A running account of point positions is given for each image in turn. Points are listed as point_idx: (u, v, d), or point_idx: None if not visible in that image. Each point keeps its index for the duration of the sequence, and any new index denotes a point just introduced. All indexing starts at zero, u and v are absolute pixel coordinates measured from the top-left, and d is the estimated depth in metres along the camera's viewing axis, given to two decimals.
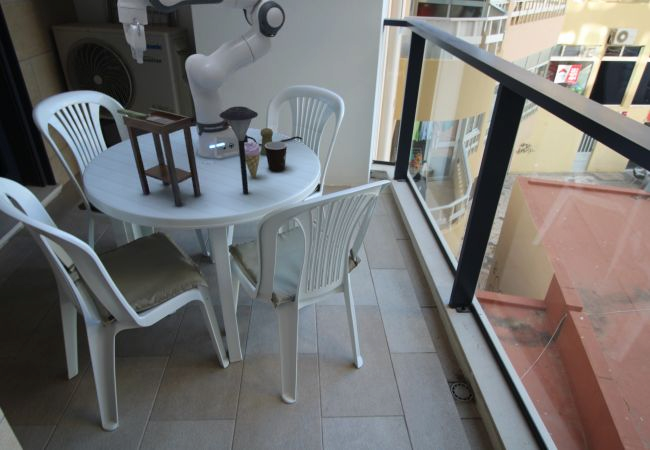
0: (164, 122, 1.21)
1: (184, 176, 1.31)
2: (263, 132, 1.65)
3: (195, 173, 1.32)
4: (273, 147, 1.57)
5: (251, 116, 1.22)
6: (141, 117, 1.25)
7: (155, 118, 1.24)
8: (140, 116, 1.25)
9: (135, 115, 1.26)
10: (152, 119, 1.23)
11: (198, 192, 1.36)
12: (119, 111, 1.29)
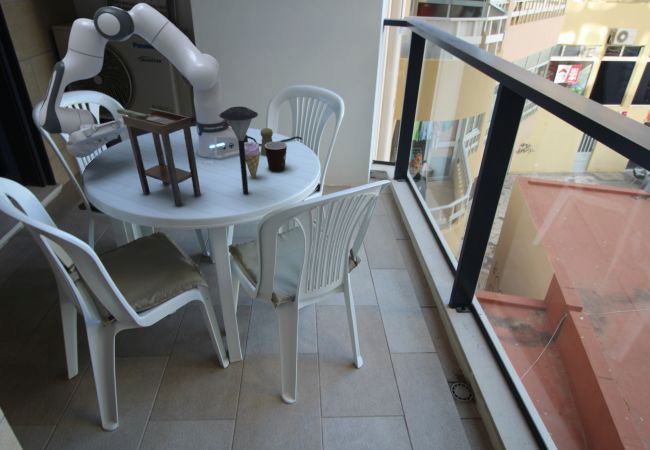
0: (164, 122, 1.21)
1: (184, 176, 1.31)
2: (263, 132, 1.65)
3: (195, 173, 1.32)
4: (273, 147, 1.57)
5: (251, 116, 1.22)
6: (141, 117, 1.25)
7: (155, 118, 1.24)
8: (140, 116, 1.25)
9: (135, 115, 1.26)
10: (152, 119, 1.23)
11: (198, 192, 1.36)
12: (119, 111, 1.29)
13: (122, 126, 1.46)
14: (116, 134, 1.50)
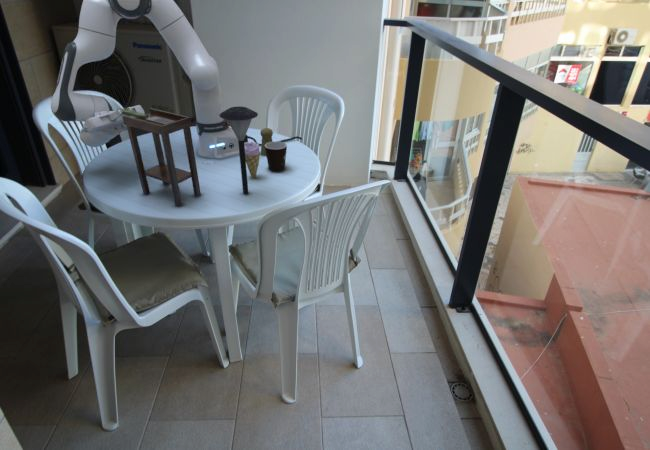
0: (164, 122, 1.21)
1: (184, 176, 1.31)
2: (263, 132, 1.65)
3: (195, 173, 1.32)
4: (273, 147, 1.57)
5: (251, 116, 1.22)
6: (141, 117, 1.25)
7: (155, 118, 1.24)
8: (140, 116, 1.25)
9: (135, 115, 1.26)
10: (152, 119, 1.23)
11: (198, 192, 1.36)
12: None
13: None
14: None
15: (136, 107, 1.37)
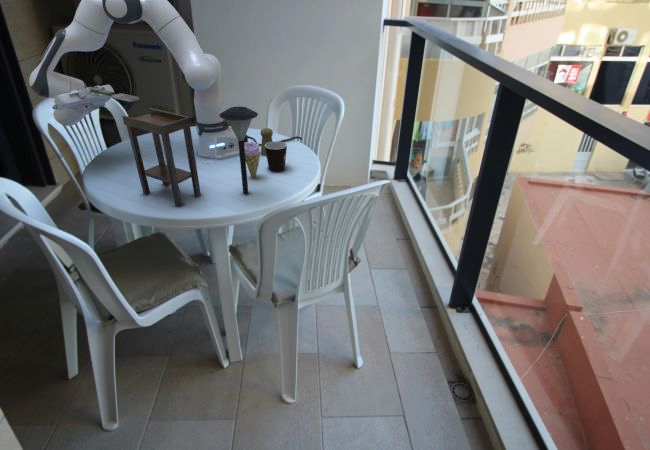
0: (128, 98, 1.28)
1: (184, 176, 1.31)
2: (263, 132, 1.65)
3: (195, 173, 1.32)
4: (273, 147, 1.57)
5: (251, 116, 1.22)
6: (108, 94, 1.33)
7: (120, 95, 1.31)
8: (107, 93, 1.33)
9: (102, 92, 1.34)
10: (117, 95, 1.30)
11: (198, 192, 1.36)
12: None
13: None
14: (103, 101, 1.49)
15: (106, 86, 1.45)
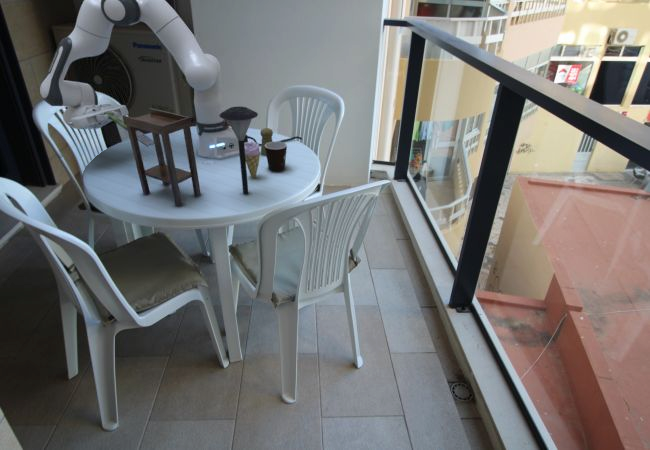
0: (146, 142, 1.40)
1: (184, 176, 1.31)
2: (263, 132, 1.65)
3: (195, 173, 1.32)
4: (273, 147, 1.57)
5: (251, 116, 1.22)
6: (125, 128, 1.42)
7: (138, 134, 1.41)
8: (125, 127, 1.42)
9: (120, 124, 1.43)
10: None
11: (198, 192, 1.36)
12: None
13: (124, 114, 1.53)
14: None
15: (121, 108, 1.52)
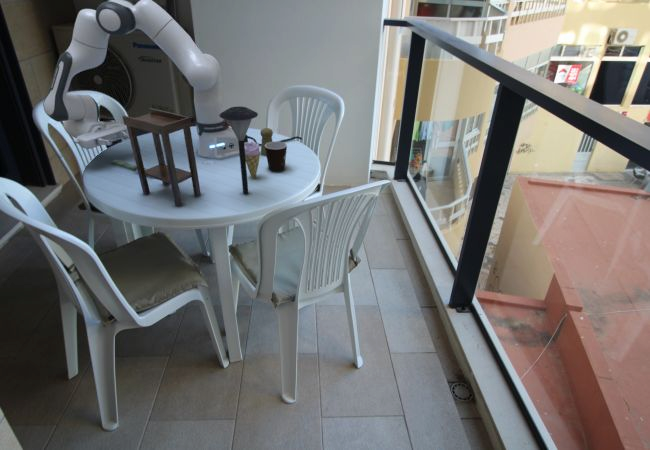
0: None
1: (184, 176, 1.31)
2: (263, 132, 1.65)
3: (195, 173, 1.32)
4: (273, 147, 1.57)
5: (251, 116, 1.22)
6: (132, 169, 1.53)
7: None
8: (131, 168, 1.53)
9: (127, 167, 1.54)
10: None
11: (198, 192, 1.36)
12: (114, 162, 1.57)
13: (128, 135, 1.58)
14: None
15: None
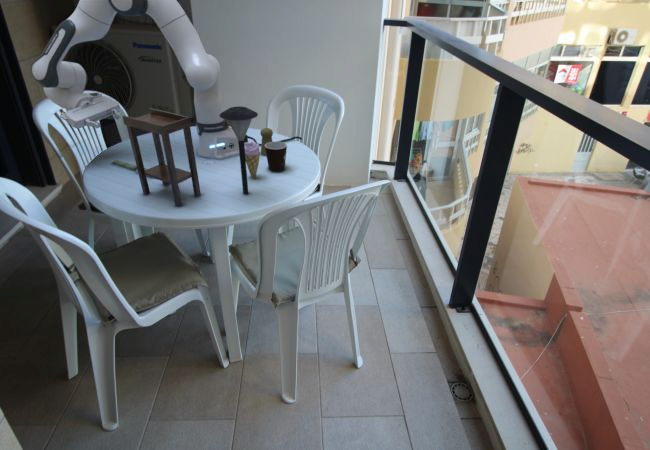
0: None
1: (184, 176, 1.31)
2: (263, 132, 1.65)
3: (195, 173, 1.32)
4: (273, 147, 1.57)
5: (251, 116, 1.22)
6: (132, 169, 1.53)
7: None
8: (131, 168, 1.53)
9: (127, 167, 1.54)
10: None
11: (198, 192, 1.36)
12: (114, 162, 1.57)
13: None
14: None
15: (115, 107, 1.56)
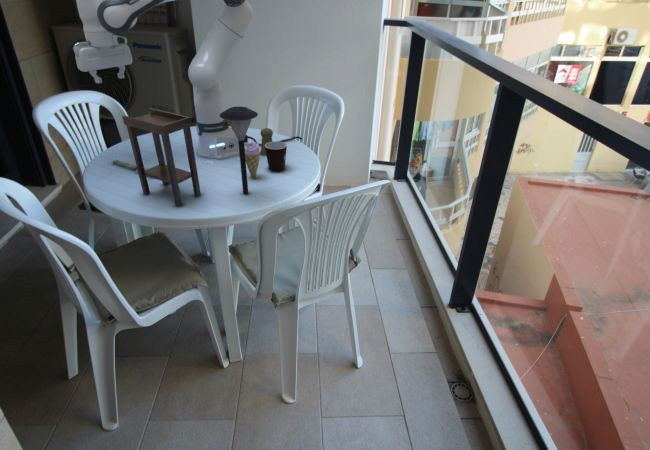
0: None
1: (184, 176, 1.31)
2: (263, 132, 1.65)
3: (195, 173, 1.32)
4: (273, 147, 1.57)
5: (251, 116, 1.22)
6: (132, 169, 1.53)
7: None
8: (131, 168, 1.53)
9: (127, 167, 1.54)
10: None
11: (198, 192, 1.36)
12: (114, 162, 1.57)
13: None
14: None
15: (126, 64, 1.49)
